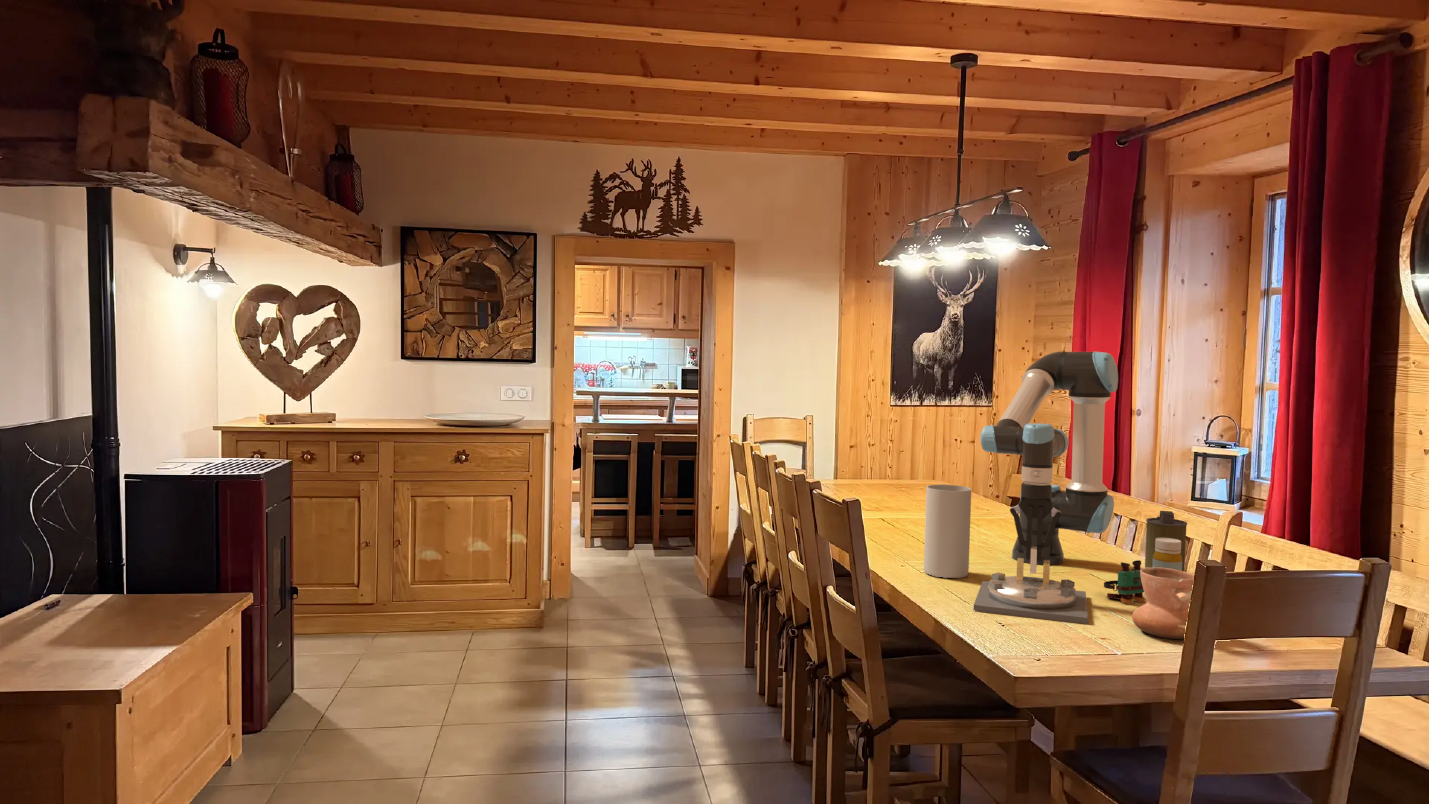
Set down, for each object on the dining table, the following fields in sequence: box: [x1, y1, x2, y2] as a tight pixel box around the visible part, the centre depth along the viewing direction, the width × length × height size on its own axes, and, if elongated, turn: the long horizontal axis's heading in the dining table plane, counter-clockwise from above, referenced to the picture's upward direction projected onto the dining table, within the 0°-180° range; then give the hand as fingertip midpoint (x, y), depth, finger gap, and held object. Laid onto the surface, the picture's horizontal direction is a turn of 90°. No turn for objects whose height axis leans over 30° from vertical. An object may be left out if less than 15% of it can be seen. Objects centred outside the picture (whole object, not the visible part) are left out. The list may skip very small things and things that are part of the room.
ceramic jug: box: [1131, 567, 1195, 640], centre depth 206 cm, size 18×14×14 cm
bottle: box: [1152, 538, 1182, 571], centre depth 239 cm, size 7×7×15 cm
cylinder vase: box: [923, 484, 972, 579], centre depth 258 cm, size 12×12×25 cm
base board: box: [973, 580, 1089, 625], centre depth 229 cm, size 26×26×2 cm
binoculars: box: [1103, 559, 1146, 605], centre depth 235 cm, size 9×11×10 cm
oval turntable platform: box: [988, 558, 1077, 610], centre depth 229 cm, size 21×21×8 cm
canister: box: [1144, 510, 1188, 572], centre depth 254 cm, size 11×10×20 cm
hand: (1033, 572), depth 236 cm, fingers closed
